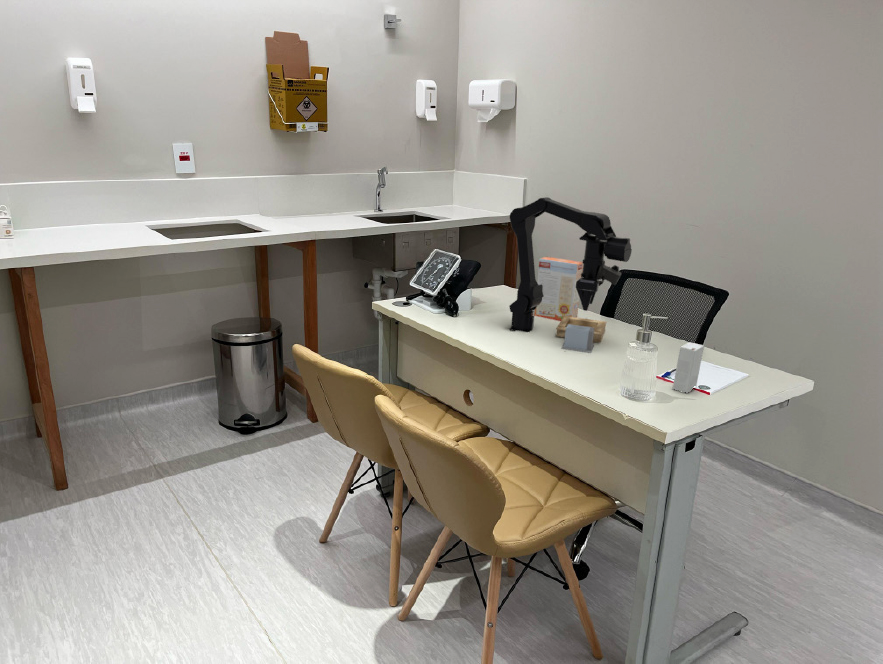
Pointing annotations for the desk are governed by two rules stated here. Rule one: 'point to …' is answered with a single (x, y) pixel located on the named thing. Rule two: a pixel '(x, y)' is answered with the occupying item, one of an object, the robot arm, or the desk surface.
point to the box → (579, 337)
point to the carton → (595, 324)
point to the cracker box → (558, 288)
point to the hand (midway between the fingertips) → (587, 307)
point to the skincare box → (688, 367)
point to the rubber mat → (577, 349)
